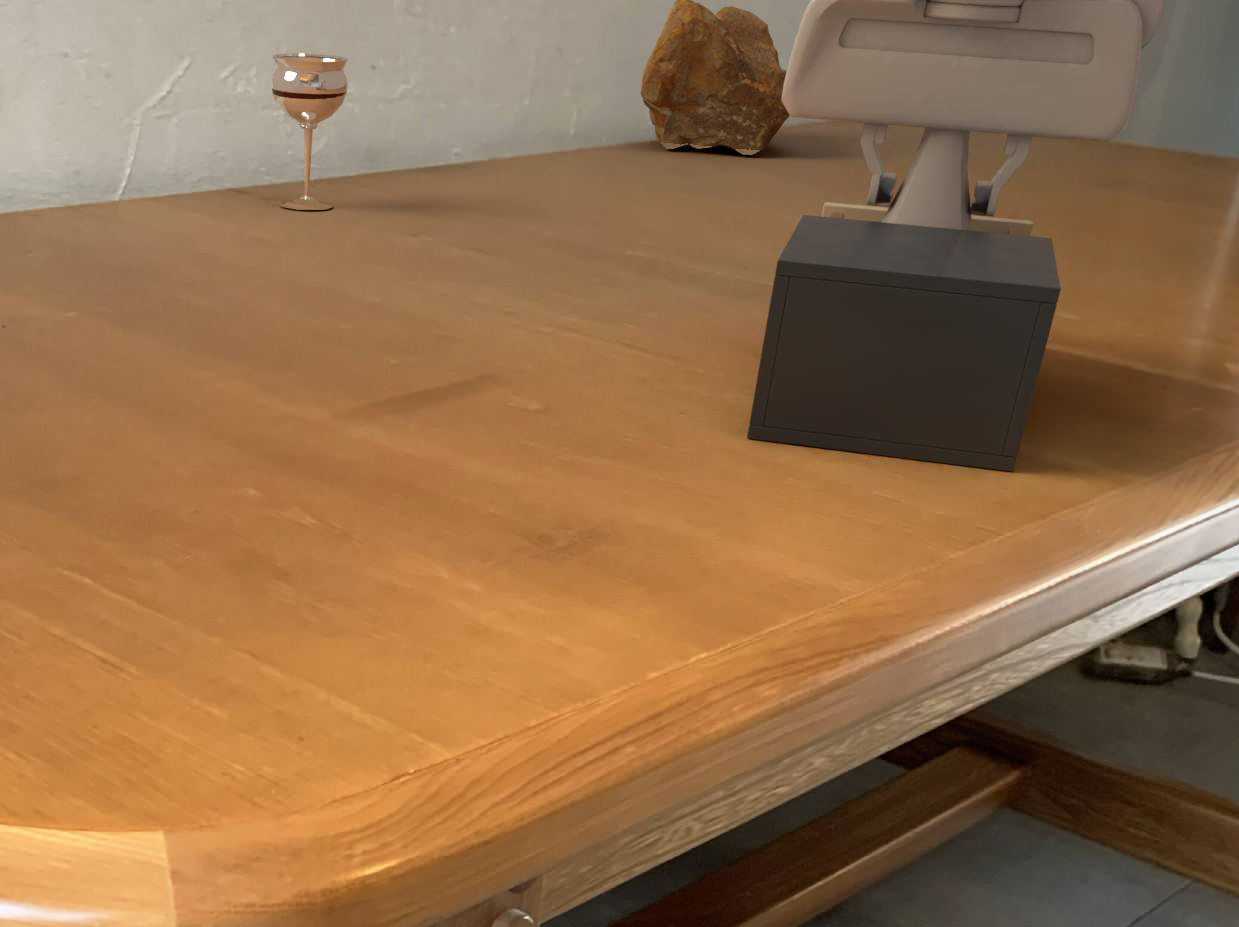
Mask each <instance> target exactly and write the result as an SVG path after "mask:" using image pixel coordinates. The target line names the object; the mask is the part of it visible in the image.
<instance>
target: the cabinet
mask: <svg viewBox="0 0 1239 927" xmlns="http://www.w3.org/2000/svg"><path fill="white" fill-rule="evenodd" d="M1052 238H1053V237H1042V236H1032V235H1031V236H1023V235H1012V234H1002V233H991V232H980V231H970V230H959V229H948V228H937V227H927V226H916V225H905V224H895V223H884V222H873V221H862V220H852V219H841V218H830V217H822V216H819V215H809V214H803V215H802V216H801V218H800V220H799V222H798V223H797V225H796V226H795V228H794V231H793V232H792V233H791V236H790V238H789V239H788V241H787V243H786V245H785V247H784V248H783V250H782V252H781V253H780V256H779V257H778V259H777V261H776V267H775V273H774V274H775V275H774V279H773V283H772V284H773V285H772V289H771V295H770V302H769V307H768V313H767V319H766V326H765V332H764V336H763V342H762V349H761V353H760V359H759V364H758V372H757V378H756V383H755V390H754V395H753V401H752V407H751V412H750V418H749V425H748V429H747V435H746V438H747V439H749V440H756V441H764V442H772V443H779V444H780V443H781V444H788V445H789V444H790V445H795V446H796V445H797V446H802V447H803V446H804V447H811V448H819V449H826V450H827V449H828V450H835V451H837V450H838V451H843V452H851V451H852V452H851V453H860V454H869V455H875V456H885V457H892V458H899V459H900V458H901V459H907V460H914V461H915V460H916V461H925V462H931V463H939V464H948V465H954V466H955V465H957V466H965V467H971V468H972V467H973V468H980V469H987V470H997V471H1004V472H1011V473H1013V472H1014V470H1015V467H1016V462H1017V458H1018V454H1019V450H1020V447H1021V443H1022V439H1023V435H1024V431H1025V428H1026V425H1027V419H1028V417H1029V412H1030V409H1031V405H1032V401H1033V397H1034V393H1035V390H1036V386H1037V382H1038V378H1039V374H1040V371H1041V367H1042V364H1043V359H1044V355H1045V352H1046V347H1047V344H1048V339H1049V336H1050V332H1051V329H1052V324H1053V321H1054V317H1055V313H1056V310H1057V305H1058V302H1059V298H1060V294H1061V291H1062V290H1061V289H1062V288H1061V283H1060V282H1061V281H1060V276H1059V271H1058V266H1057V260H1056V256H1055V255H1056V254H1055V250H1054V244H1053V239H1052Z"/></svg>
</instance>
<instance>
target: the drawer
mask: <svg viewBox="0 0 1239 927" xmlns="http://www.w3.org/2000/svg"><path fill="white" fill-rule="evenodd" d="M888 209H889V207H884V206H871V205H863V204H862V205H861V204H853V203H851V204H850V203H842V202H841V203H840V202H829V201H825V202H824V203H823V207H822V212H821V217H830V218H841V219H852V220H862V221H873V222H881V221H882V219H883V218H884V216H885V214H886V212H887V211H888ZM971 218H972V227H973V231H980V232H991V233H1002V234H1012V235H1023V236H1032V231H1033V227H1034V221H1033V220H1026V219H1015V218H1003V217H995V216H994V217H992V216H981V215H972V214H971Z"/></svg>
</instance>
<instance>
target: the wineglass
mask: <svg viewBox="0 0 1239 927" xmlns="http://www.w3.org/2000/svg"><path fill="white" fill-rule="evenodd" d="M272 59H273V60H274V63H275V66H276V67H275V70H274V71H273V73H272V78H271V92H272V95H273V99H274V101H275V103H276V104H277V105H278V107H279V108H280V109H281V111H283V113H284V114H285V115H286V116H288V117H290V118H291V119H293V120H294V121H296V122H297V123H298V126H299V128H300V129H302V130H303V163H304V164H303V166H304V168H303V170H304V171H303V172H304V173H303V174H304V175H303V176H304V178H303V179H304V182H303V183H304V195H303V196H300V197H299V198H300V199H305V200H306V199H308V200H310V199H315V198H314V197H312V196H309V195H310V181H311V180H310V179H311V163H312V150H313V149H312V147H313V133H314V130H316V129H317V128H318V127H319V125H318V124H320V123H321V122H323V121H325V120H327V119H329V118H331V117H333V116H334V115H335V113H336V112H337V111H338V110H340V107H342V105H343V104H344V102H345V99H346V96H347V92H348V86H349V85H348V80H347V79H348V78H347V75H346V73H345V70H344V69H345V67H346V65H347V63H348V61H349V59H348V58H347V57H344V56H339V55H332V54H320V53H292V52H291V53H277V54H272Z"/></svg>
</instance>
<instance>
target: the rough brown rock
mask: <svg viewBox="0 0 1239 927" xmlns="http://www.w3.org/2000/svg"><path fill="white" fill-rule="evenodd" d="M786 72H787V69H783V68H782V67H781V64H780V59H779V52H778V51H777V49H776V48H775V46H774V40H773V38H772V35H771V34H770V30H769V25H768V24H767V23H766V22H765V21H764V20H762V19H761V18H760V17H759V16H758V15H756V14H755V13H753V12H751V11H749V10H746V9H743V8H739V7H735V6H732V5H731V6H724V7H722V8H720V9H719V10H718V11H717V12H716V13H714V12H712V11H711V10H710V9H709V8H708V7H706V6H704V5H702V4H701V3H698V2H695V1H694V0H676V1H675V2H674V3H673V5H672V7H671V9H670V11H669V13H668V16H667V18H666V20H665V22H664V25H663V27H662V29H661V31H660V34H659V36H658V38H657V41H656V43H655V46H654V47H653V49H652V52H651V54H650V56H649V58H648V60H647V62H646V66H645V67H644V70H643V74H642V78H641V88H640V96H641V98H642V101H643V105H645V107H646V108H648V114H649V118H650V119H649V120H650V122H651V124H652V125H653V126H654V132H655V135H656V140H657V141H658V143H659V142H663V143H673V144H680V145H681V144H685V143H686V144H687V143H688V144H693V145H700V146H712V147H714V146H716V147H718V146H725V147H729V148H731V149H732V150H733V149H747V150H749V149H751V150H761V149H764V150H766V149H767V148H768V146H769V144H770V143H771V141H772V140H773V138H774V137H775V135H776V134H777V133H778V132H779V130H780V129H781V128H782V126H783V124H784V123H785V122H786V121H787V120H788V119H789V117H791V116H790V115H789V113H788V112H787V110H786V108H785V107H784V105H783V102H782V92H783V86H784V81H785V76H786ZM714 148H715V147H714Z"/></svg>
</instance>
